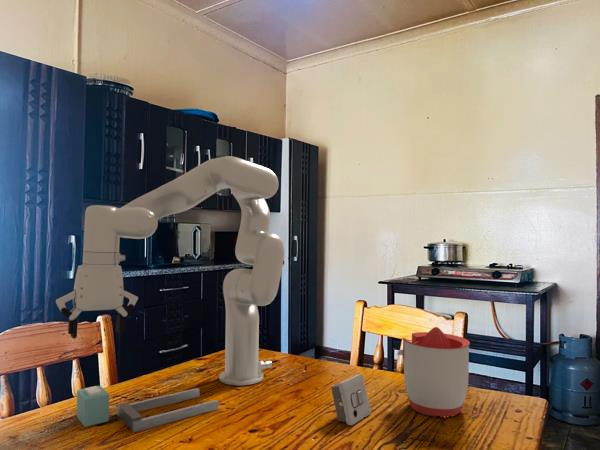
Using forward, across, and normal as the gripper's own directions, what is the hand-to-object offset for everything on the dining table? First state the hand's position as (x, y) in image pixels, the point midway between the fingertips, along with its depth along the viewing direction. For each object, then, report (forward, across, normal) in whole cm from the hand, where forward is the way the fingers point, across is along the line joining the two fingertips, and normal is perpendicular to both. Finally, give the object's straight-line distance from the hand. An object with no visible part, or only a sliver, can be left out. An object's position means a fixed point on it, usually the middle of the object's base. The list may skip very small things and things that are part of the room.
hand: (96, 335), depth 102 cm
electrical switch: (+17, -49, +33) cm, 61 cm away
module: (+19, 0, 0) cm, 19 cm away
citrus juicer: (+17, -69, +40) cm, 81 cm away
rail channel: (+18, -15, +6) cm, 25 cm away
